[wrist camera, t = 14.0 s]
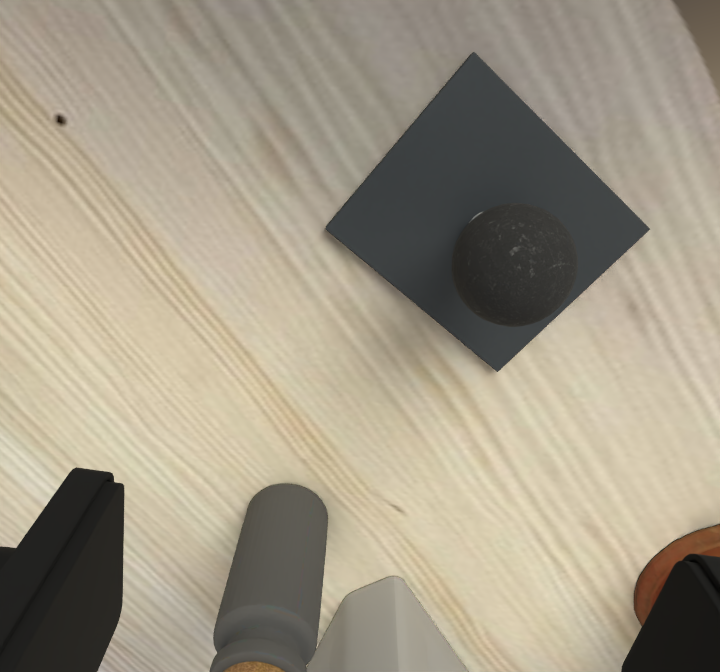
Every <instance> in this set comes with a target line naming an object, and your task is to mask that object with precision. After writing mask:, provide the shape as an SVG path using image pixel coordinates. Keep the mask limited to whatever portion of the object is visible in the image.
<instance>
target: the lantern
mask: <svg viewBox="0 0 720 672" xmlns="http://www.w3.org/2000/svg"><path fill="white" fill-rule="evenodd" d="M688 554H701V555H708V556H716V557H720V524H719V525H717V526H714V527H708V528H705V529H701V530H698V531H696V532H693V533H691V534H688V535H686V536H684V537H683V538H682V539H678V540H676V541H674V542H673V543H671V544H670V545H669V546H667V547H666V548H665V549H664V550H662V551H661V552H660V553H659V554H658V555H656V556H655V557H654V558H653V559H652V560H651V561H650V562H649V563H648V565H647V566H646V568H645V569H644V571H643V572H642V573H641V575H640V577H639V579H638V581H637V585H636V589H635V593H634V610H635V613H636V616H637V618H638V620H639V622H640V624H641V625H642V626H643V624H644V622H645V620H646V618H647V617H648V615H649V613H650V611H651V609H652V607H653V605H654V603H655V601H656V599H657V597H658V595H659V593H660V591H661V589H662V587H663V586H664V584H665V582H666V580H667V578H668V576H669V574H670V572H671V570H672V568H673V566H674V565H675V563H676V562H678V561H682V560H683V559H684V557H685V556H687V555H688Z"/></svg>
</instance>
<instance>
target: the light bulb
mask: <svg viewBox="0 0 720 672" xmlns="http://www.w3.org/2000/svg"><path fill="white" fill-rule="evenodd" d="M577 271H578V256H577V251H576V246H575V243H574V240H573V238H572V237H571V235H570V232H569V231H568V230H567V228H566V227H565V226H564V225H563V223H562V222H561V221H560V220H559V219H558V218H557V217H555V216H554V215H552V214H551V213H550V212H548V211H546V210H545V209H542V208H539V207H536V206H533V205H530V204H522V203H508V204H502V205H498V206H495V207H492V208H490V209H488V210H486V211H484V212H481V213H479V214H477V215H476V216H474V217H473V218H472V220H471V221H470V222H469V224H468V225H467V226H466V227H465V228H464V229H463V231H462V232H461V234H460V236H459V238H458V240H457V241H456V244H455V247H454V251H453V255H452V277H453V282H454V285H455V288H456V290H457V293H458V294H459V296H460V298H461V300H462V301H463V302H464V303H465V305H466V306H467V307H468V308H469V309H470V310H471V311H472V312H473V313H474V314H476V315H477V316H479V317H480V318H482V319H484V320H486V321H489V322H491V323H494V324H497V325H502V326H508V327H518V326H525V325H529V324H533V323H535V322H539V321H540V320H542V319H544V318H546V317H548V316H549V315H551V314H552V313H553V312H554V311H556V310H557V309H558V308H559V307H560V306H561V305H562V304H563V303H564V301H565V300H566V299H567V297H568V296H569V294H570V292H571V291H572V289H573V286H574V283H575V280H576V276H577Z"/></svg>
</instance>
